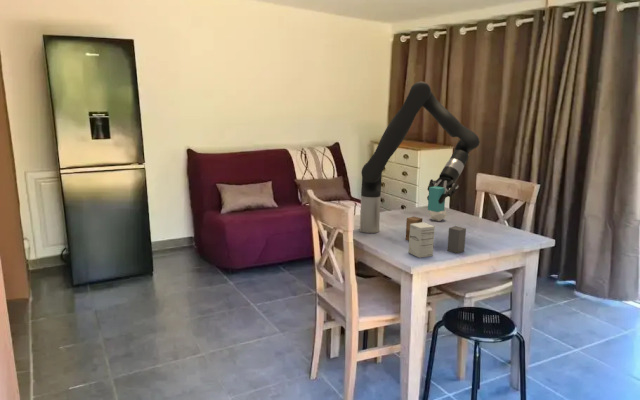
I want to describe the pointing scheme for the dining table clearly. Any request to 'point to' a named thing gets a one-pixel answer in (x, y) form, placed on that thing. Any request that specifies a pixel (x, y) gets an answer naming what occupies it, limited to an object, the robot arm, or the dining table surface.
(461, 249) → the charcoal block
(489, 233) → the dining table surface
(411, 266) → the dining table surface
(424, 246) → the supplement box
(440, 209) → the teal block
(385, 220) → the dining table surface
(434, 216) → the die
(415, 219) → the walnut block
